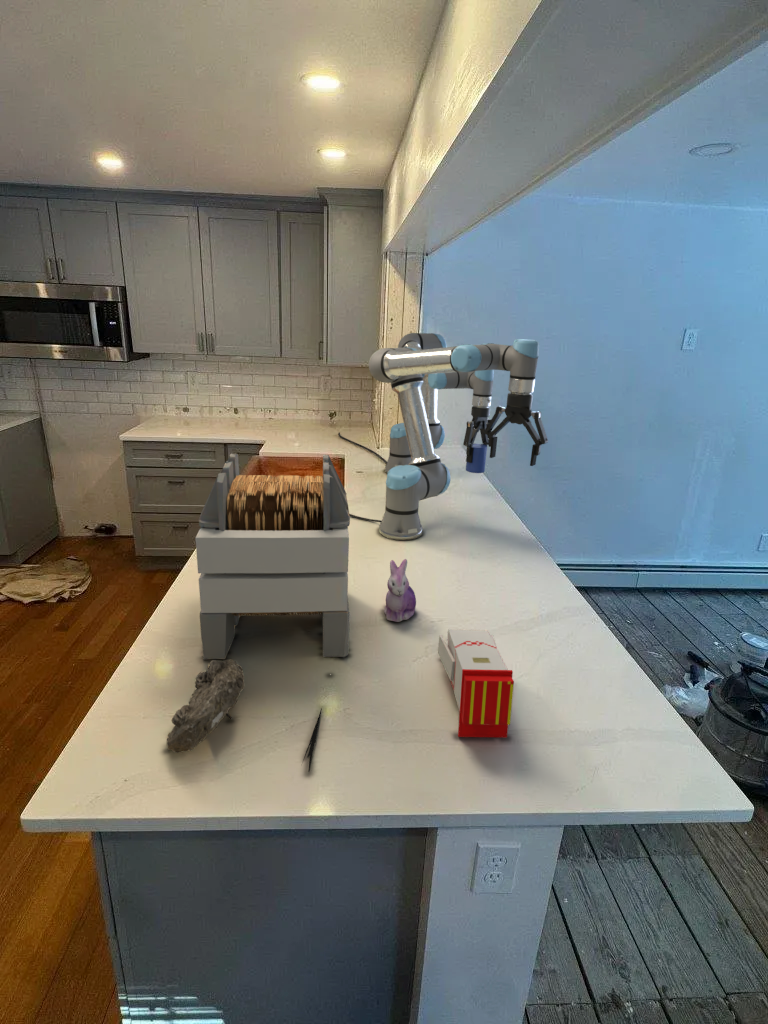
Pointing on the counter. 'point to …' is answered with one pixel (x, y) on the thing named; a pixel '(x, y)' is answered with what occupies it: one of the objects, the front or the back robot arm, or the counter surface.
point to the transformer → (273, 554)
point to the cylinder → (477, 459)
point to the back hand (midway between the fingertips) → (475, 460)
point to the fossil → (206, 705)
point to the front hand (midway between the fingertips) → (512, 461)
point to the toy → (478, 682)
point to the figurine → (399, 594)
